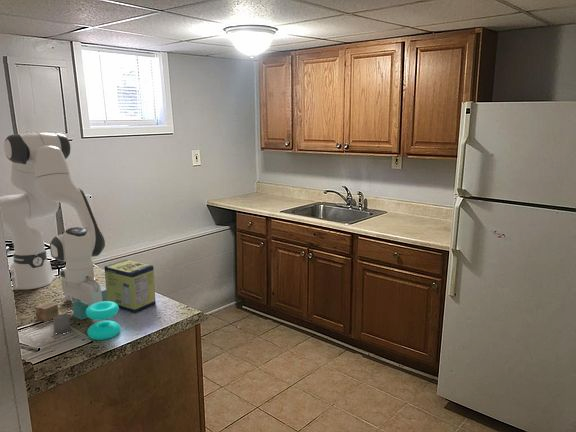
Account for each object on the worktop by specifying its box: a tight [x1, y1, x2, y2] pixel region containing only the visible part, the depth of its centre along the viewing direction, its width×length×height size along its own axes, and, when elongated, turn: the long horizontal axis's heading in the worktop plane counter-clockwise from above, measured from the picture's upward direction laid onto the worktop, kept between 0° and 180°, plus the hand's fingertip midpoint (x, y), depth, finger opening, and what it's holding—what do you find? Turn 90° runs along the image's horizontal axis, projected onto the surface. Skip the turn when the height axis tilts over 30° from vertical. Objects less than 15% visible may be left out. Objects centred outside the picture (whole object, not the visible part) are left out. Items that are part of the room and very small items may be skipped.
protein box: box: [104, 259, 157, 314], centre depth 173 cm, size 10×16×16 cm
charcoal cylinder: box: [52, 313, 72, 335], centre depth 152 cm, size 5×5×5 cm
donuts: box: [86, 301, 121, 341], centre depth 149 cm, size 10×10×10 cm
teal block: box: [72, 300, 89, 321], centre depth 164 cm, size 5×5×5 cm
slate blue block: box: [100, 285, 107, 302], centre depth 177 cm, size 5×5×5 cm
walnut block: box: [34, 301, 59, 323], centre depth 162 cm, size 5×5×5 cm
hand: (83, 310), depth 164 cm, fingers open, 8 cm apart
